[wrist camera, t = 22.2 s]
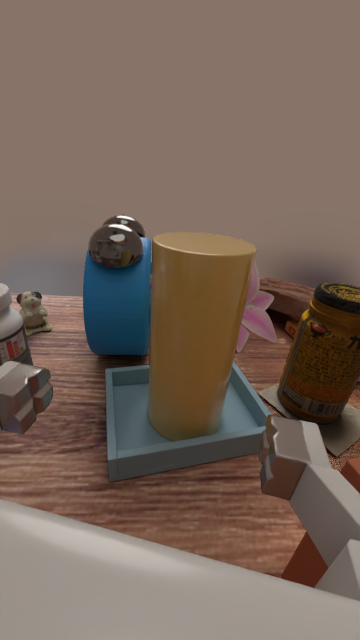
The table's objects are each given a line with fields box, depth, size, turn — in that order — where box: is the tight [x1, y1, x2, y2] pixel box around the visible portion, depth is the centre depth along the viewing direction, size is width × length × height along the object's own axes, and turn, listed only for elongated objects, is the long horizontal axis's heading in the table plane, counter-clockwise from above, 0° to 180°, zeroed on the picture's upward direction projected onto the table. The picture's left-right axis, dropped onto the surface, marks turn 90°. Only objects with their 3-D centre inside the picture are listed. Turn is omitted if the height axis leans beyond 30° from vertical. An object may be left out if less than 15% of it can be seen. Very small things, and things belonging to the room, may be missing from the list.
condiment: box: [257, 283, 360, 456], centre depth 24 cm, size 7×8×12 cm
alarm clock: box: [83, 215, 151, 363], centre depth 30 cm, size 13×6×15 cm, turn 5°
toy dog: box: [17, 292, 52, 336], centre depth 35 cm, size 4×5×5 cm
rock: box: [259, 278, 315, 319], centre depth 44 cm, size 8×19×5 cm, turn 31°
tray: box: [105, 361, 272, 482], centre depth 24 cm, size 13×10×2 cm
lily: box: [236, 260, 277, 353], centre depth 37 cm, size 12×12×10 cm
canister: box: [147, 232, 257, 441], centre depth 21 cm, size 7×7×15 cm
